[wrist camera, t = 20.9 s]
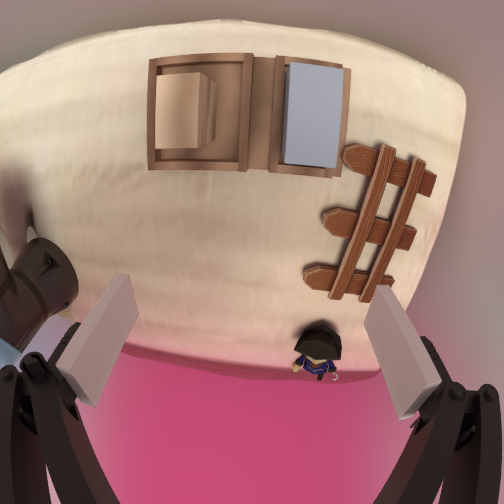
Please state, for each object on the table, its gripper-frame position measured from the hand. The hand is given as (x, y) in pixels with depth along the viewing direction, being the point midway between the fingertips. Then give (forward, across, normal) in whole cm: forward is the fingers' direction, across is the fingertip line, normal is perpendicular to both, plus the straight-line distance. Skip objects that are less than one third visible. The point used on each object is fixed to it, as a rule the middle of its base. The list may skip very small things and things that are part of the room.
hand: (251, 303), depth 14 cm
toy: (+23, +12, -29) cm, 39 cm away
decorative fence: (+22, +16, -4) cm, 28 cm away
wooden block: (+22, -7, +10) cm, 25 cm away
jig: (+23, -2, +10) cm, 25 cm away
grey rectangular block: (+22, +5, +10) cm, 24 cm away
